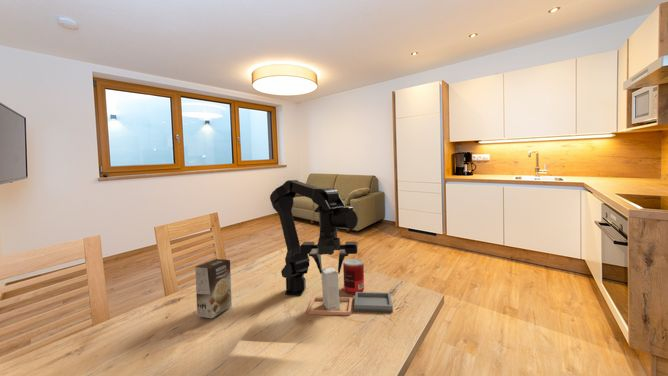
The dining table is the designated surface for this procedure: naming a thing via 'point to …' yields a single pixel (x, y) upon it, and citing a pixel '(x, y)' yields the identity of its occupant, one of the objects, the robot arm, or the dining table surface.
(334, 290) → the skincare box
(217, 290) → the coffee box
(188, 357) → the dining table surface
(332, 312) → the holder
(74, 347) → the dining table surface
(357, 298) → the tray
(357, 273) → the canned food
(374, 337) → the dining table surface
